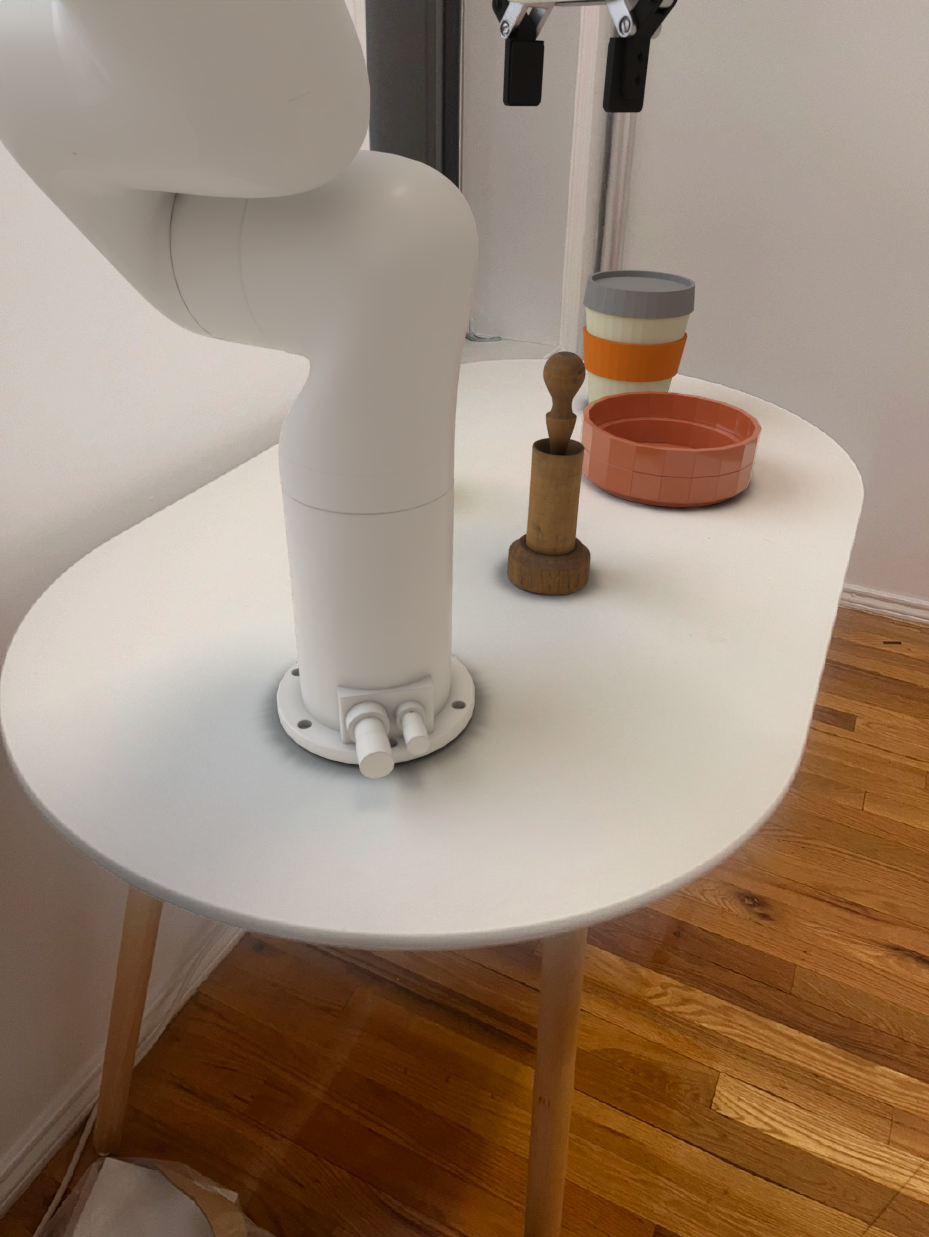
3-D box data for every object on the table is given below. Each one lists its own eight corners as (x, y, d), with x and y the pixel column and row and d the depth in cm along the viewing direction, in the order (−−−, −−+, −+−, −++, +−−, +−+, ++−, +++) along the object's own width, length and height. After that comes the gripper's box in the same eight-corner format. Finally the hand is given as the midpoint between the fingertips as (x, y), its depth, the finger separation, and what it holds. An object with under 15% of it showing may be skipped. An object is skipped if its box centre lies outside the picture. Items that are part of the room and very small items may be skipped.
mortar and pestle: (587, 560, 74) (611, 343, 65) (589, 599, 69) (615, 369, 59) (509, 554, 75) (521, 339, 65) (504, 593, 69) (517, 364, 60)
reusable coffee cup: (679, 399, 111) (699, 274, 103) (675, 432, 101) (696, 296, 93) (581, 389, 114) (592, 266, 106) (566, 420, 104) (578, 287, 96)
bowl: (781, 503, 85) (795, 444, 82) (613, 517, 81) (621, 456, 78) (701, 440, 99) (710, 387, 96) (556, 450, 96) (560, 395, 92)
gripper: (452, -215, 55) (448, 104, 64) (668, -283, 44) (626, 115, 53) (540, -192, 59) (525, 104, 68) (759, -250, 48) (706, 115, 57)
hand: (569, 109), depth 60 cm, fingers open, 9 cm apart
